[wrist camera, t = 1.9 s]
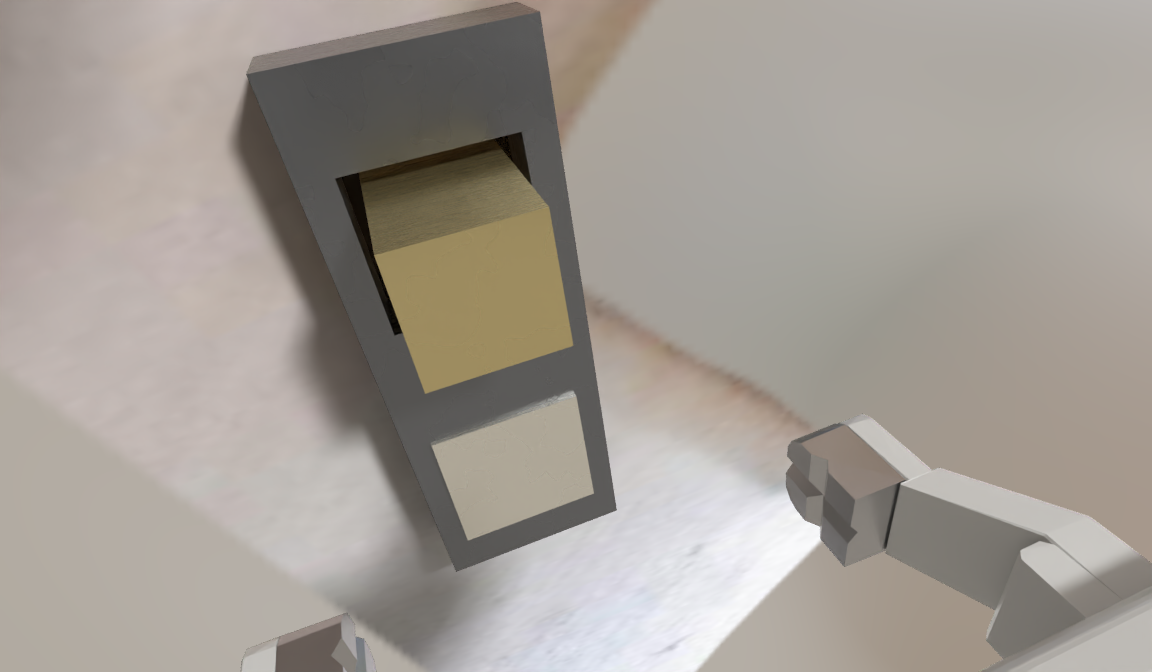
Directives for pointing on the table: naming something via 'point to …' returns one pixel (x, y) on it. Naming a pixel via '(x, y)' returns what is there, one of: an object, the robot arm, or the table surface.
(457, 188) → the tan block
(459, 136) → the plate
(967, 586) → the robot arm
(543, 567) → the table surface
